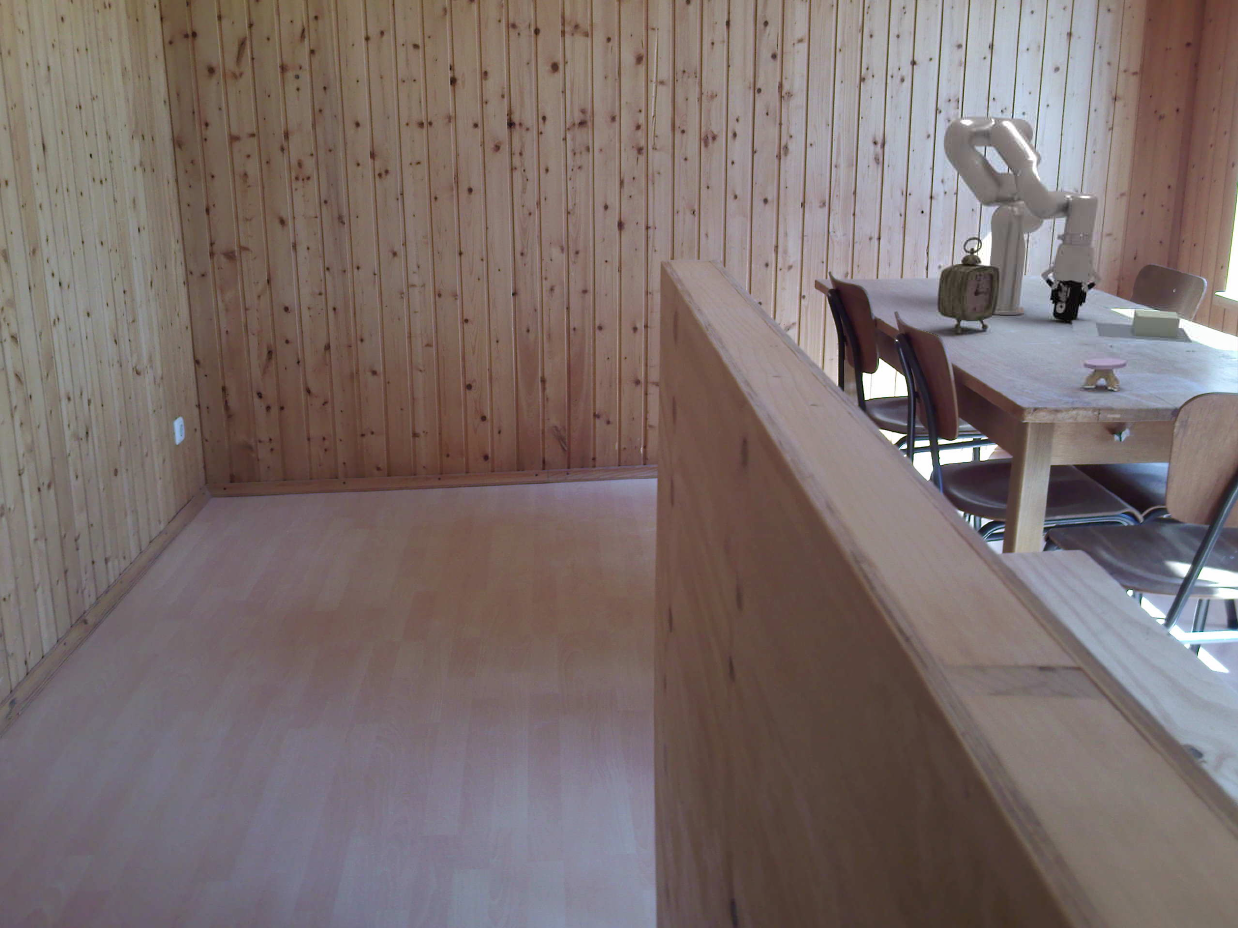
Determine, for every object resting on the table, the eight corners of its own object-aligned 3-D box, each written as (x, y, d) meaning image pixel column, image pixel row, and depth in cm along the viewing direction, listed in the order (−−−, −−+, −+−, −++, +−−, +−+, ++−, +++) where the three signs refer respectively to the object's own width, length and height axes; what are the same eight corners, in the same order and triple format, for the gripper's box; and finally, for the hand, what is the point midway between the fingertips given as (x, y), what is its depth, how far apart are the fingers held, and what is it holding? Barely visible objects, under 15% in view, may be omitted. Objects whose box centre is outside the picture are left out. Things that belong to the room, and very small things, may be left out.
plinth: (1135, 335, 294) (1137, 316, 293) (1132, 328, 303) (1134, 309, 302) (1177, 337, 291) (1180, 318, 290) (1172, 330, 300) (1175, 312, 299)
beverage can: (1078, 321, 314) (1086, 278, 310) (1054, 320, 315) (1060, 277, 311) (1074, 317, 320) (1081, 275, 316) (1050, 315, 321) (1057, 273, 317)
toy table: (1111, 381, 250) (1114, 356, 248) (1134, 391, 242) (1138, 365, 240) (1070, 382, 249) (1073, 357, 247) (1092, 392, 240) (1096, 366, 238)
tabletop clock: (958, 336, 296) (967, 240, 289) (931, 330, 304) (940, 237, 296) (994, 330, 304) (1004, 237, 296) (967, 325, 311) (977, 234, 304)
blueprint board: (1098, 339, 293) (1099, 336, 293) (1094, 326, 311) (1095, 322, 311) (1191, 346, 286) (1192, 342, 286) (1182, 331, 304) (1182, 328, 304)
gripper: (1044, 239, 309) (1034, 304, 315) (1111, 244, 304) (1100, 309, 310) (1043, 236, 316) (1034, 299, 322) (1110, 240, 311) (1099, 304, 317)
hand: (1067, 303), depth 316 cm, fingers closed on beverage can, 6 cm apart
